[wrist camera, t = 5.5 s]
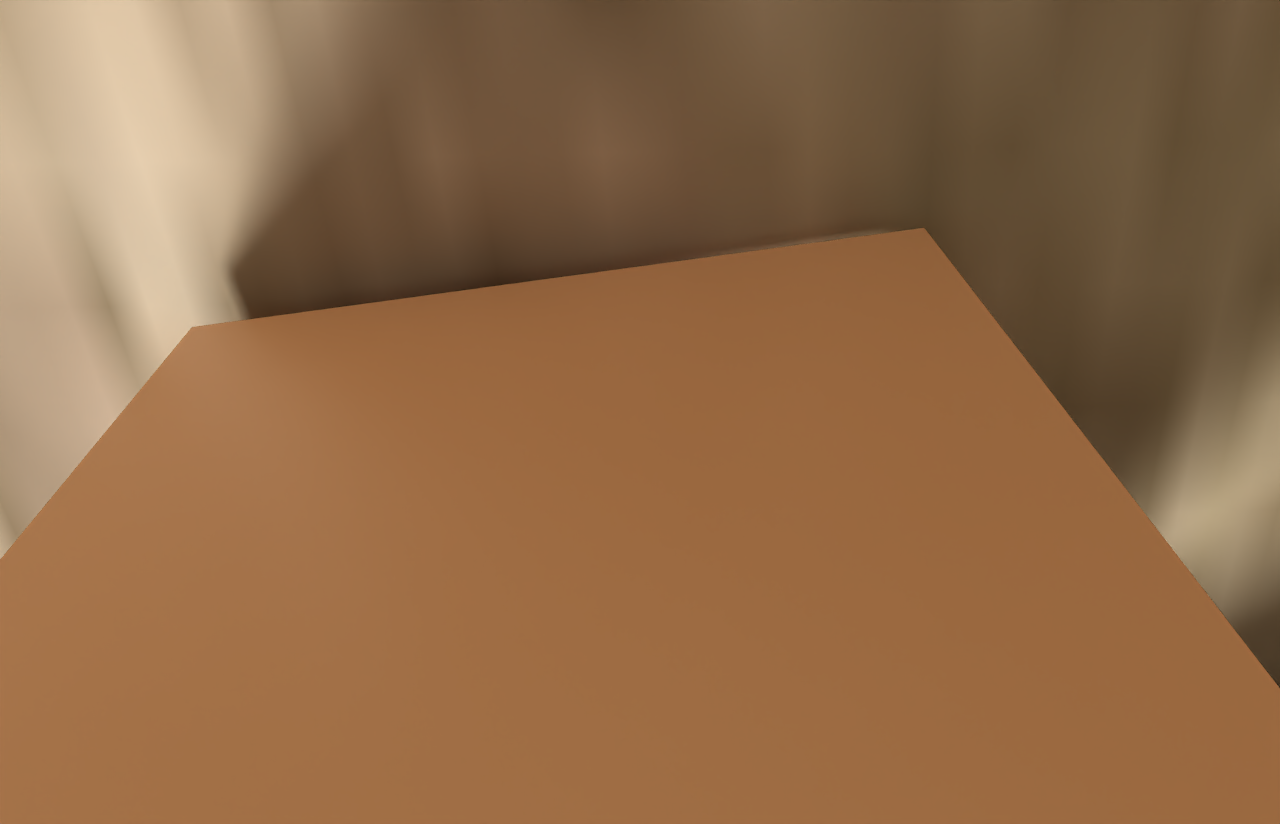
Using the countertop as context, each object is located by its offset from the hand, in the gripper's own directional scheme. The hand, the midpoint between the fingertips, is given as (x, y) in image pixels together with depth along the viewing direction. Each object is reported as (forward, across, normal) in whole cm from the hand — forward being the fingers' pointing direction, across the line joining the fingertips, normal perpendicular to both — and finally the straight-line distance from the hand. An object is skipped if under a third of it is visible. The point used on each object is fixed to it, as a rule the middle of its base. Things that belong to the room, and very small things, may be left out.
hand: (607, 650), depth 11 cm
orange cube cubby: (+1, 0, 0) cm, 1 cm away
